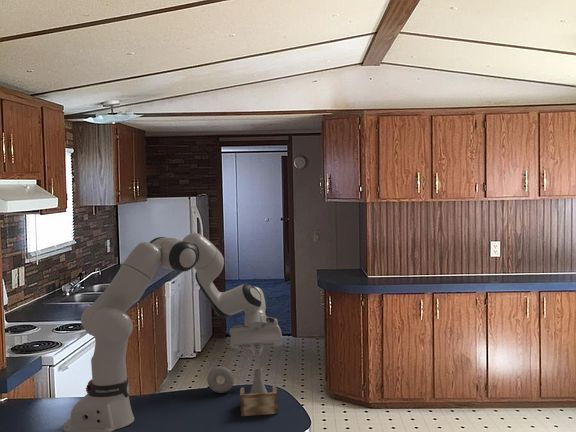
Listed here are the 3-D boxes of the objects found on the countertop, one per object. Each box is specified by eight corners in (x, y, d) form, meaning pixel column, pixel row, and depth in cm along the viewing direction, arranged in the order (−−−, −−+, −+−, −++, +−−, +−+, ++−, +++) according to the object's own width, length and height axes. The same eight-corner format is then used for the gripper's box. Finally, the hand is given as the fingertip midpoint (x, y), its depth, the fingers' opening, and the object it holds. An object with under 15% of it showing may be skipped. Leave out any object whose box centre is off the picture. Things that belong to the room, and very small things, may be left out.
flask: (266, 400, 223) (264, 372, 223) (246, 400, 225) (245, 372, 224) (270, 393, 230) (269, 366, 230) (251, 393, 232) (250, 366, 231)
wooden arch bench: (240, 416, 209) (239, 395, 209) (241, 404, 220) (240, 384, 220) (278, 413, 210) (277, 393, 209) (276, 402, 221) (275, 382, 220)
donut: (207, 394, 232) (205, 368, 232) (208, 391, 236) (207, 365, 235) (233, 394, 232) (232, 367, 231) (235, 391, 235) (233, 364, 234)
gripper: (228, 322, 245) (229, 353, 236) (280, 318, 247) (283, 349, 237) (229, 330, 250) (230, 361, 241) (281, 327, 251) (283, 358, 242)
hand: (257, 355), depth 239 cm, fingers closed
